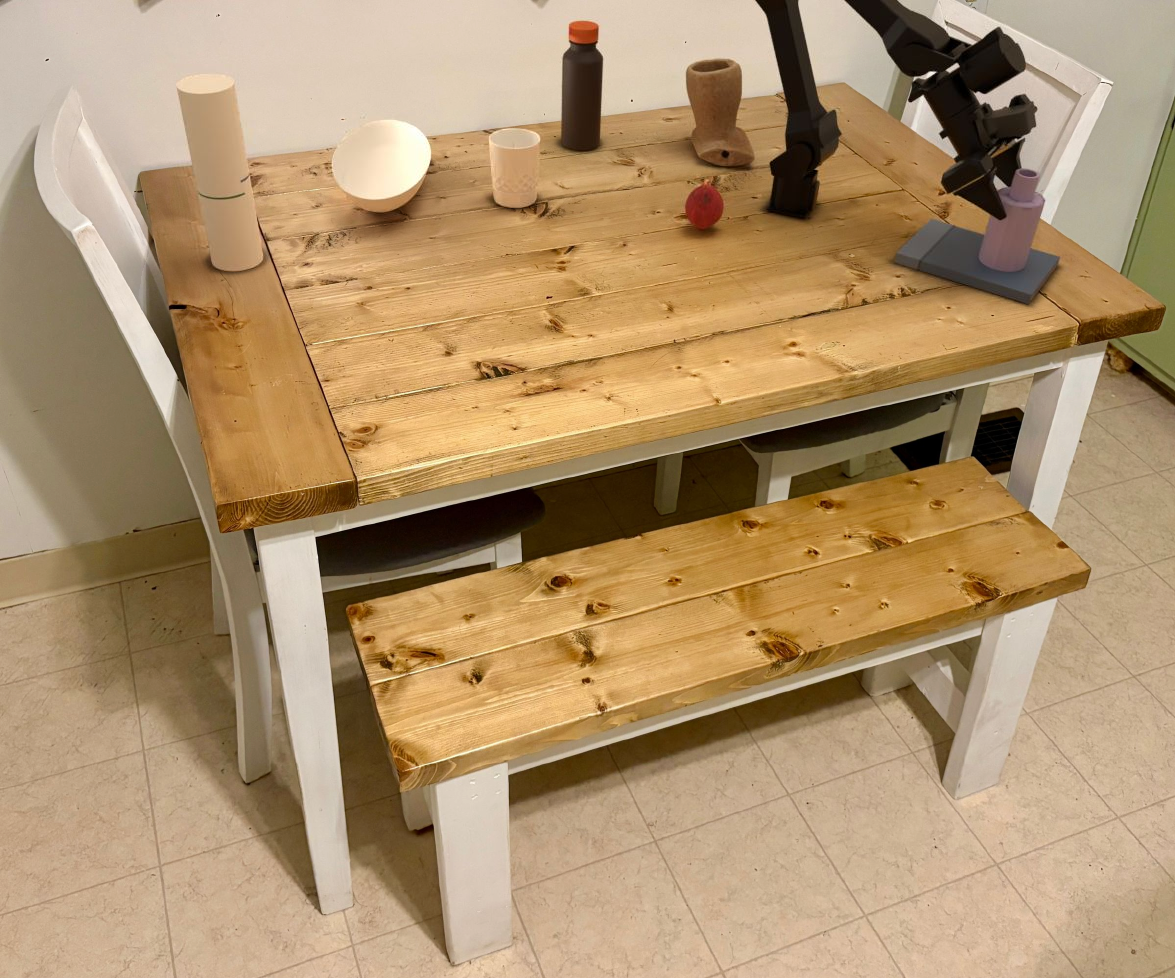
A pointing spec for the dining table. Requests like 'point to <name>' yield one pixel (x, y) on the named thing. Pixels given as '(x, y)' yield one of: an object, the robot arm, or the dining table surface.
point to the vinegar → (582, 88)
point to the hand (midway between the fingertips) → (1014, 207)
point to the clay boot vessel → (717, 112)
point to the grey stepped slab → (972, 262)
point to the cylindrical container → (221, 170)
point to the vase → (1013, 224)
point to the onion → (704, 206)
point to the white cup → (514, 166)
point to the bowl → (381, 164)
